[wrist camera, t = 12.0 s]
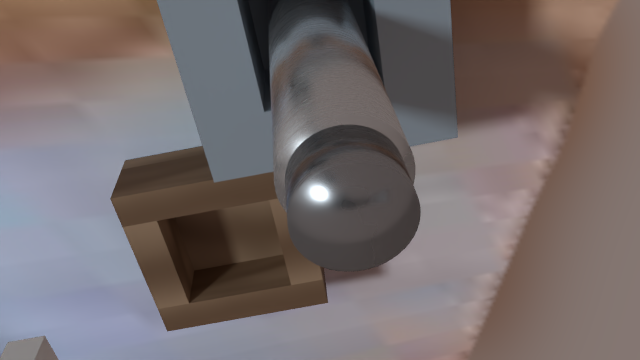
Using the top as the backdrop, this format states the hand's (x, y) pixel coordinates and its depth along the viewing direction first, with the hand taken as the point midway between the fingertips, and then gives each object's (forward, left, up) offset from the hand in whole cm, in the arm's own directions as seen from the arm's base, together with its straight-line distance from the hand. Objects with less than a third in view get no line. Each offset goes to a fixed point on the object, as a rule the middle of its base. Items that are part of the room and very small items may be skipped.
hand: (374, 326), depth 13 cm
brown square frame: (+12, -7, -23) cm, 27 cm away
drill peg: (0, 0, -22) cm, 22 cm away
